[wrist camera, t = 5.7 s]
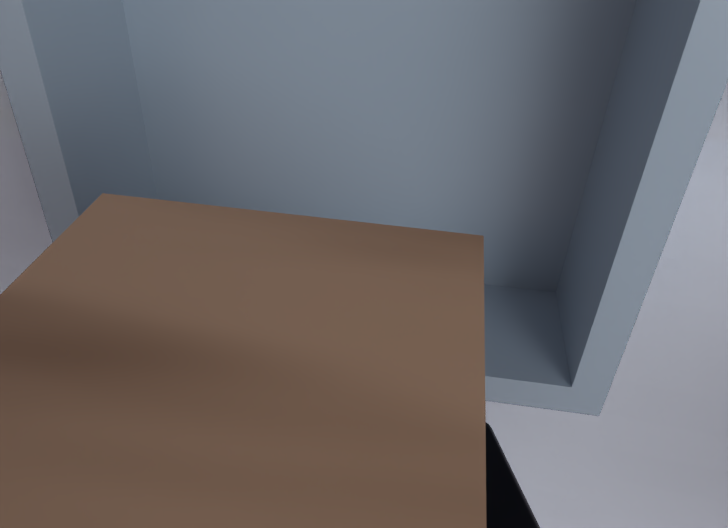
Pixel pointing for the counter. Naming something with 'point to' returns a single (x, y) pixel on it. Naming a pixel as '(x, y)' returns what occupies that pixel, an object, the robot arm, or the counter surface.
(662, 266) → the counter surface
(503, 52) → the tote
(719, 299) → the counter surface
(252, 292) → the cube
